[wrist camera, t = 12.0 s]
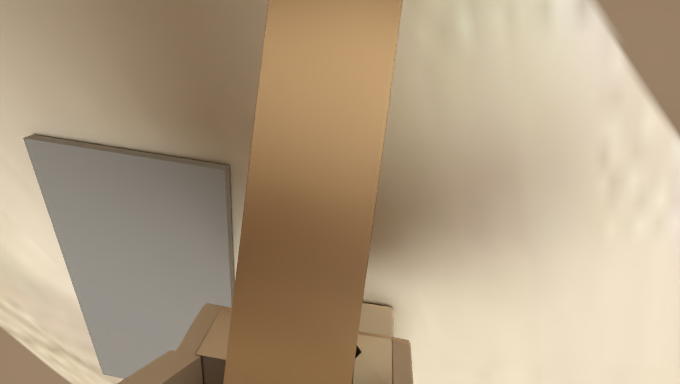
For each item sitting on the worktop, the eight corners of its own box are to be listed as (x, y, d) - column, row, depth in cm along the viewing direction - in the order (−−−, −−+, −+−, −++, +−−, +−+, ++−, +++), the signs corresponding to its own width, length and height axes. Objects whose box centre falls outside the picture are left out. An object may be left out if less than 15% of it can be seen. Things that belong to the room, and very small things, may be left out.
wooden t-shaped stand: (208, -1, 11) (102, -127, 7) (498, 27, 10) (599, -88, 6) (155, 471, 12) (24, 654, 7) (428, 522, 11) (472, 755, 7)
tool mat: (33, 134, 19) (23, 138, 18) (229, 165, 18) (224, 170, 18) (108, 367, 29) (102, 374, 28) (239, 393, 28) (236, 400, 27)
